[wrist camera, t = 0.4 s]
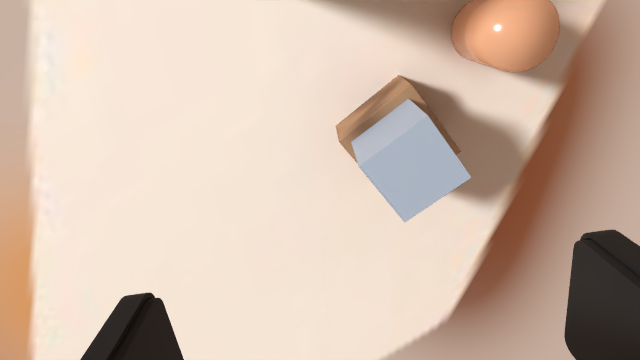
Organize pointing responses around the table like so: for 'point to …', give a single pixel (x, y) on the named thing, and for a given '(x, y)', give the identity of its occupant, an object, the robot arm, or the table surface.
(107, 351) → the robot arm
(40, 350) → the table surface
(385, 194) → the slate blue cube
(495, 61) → the terracotta capsule
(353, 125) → the walnut base block
